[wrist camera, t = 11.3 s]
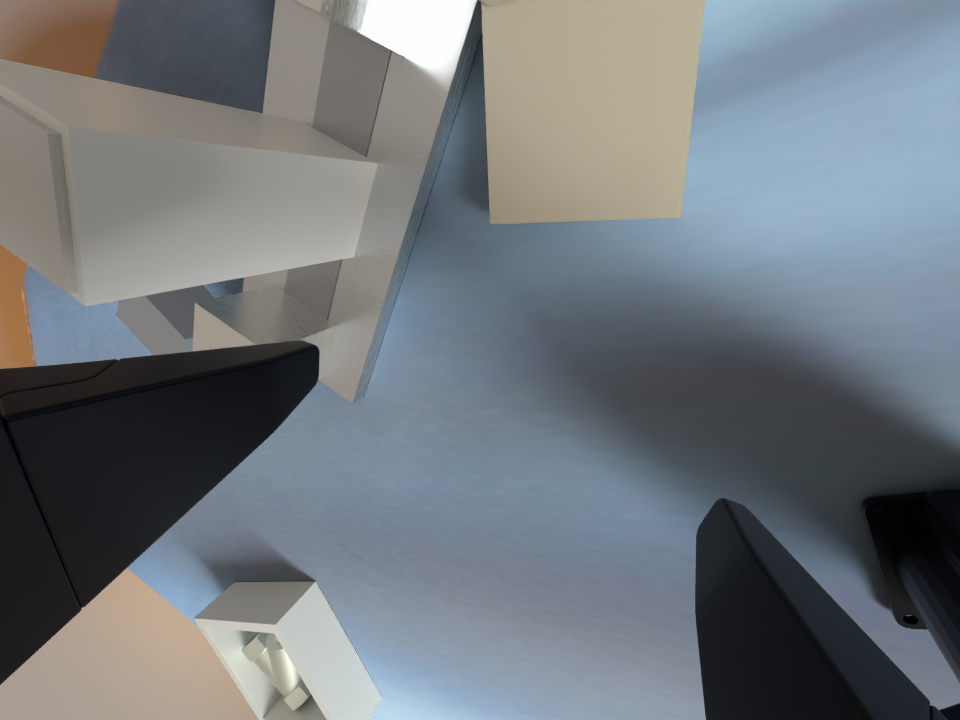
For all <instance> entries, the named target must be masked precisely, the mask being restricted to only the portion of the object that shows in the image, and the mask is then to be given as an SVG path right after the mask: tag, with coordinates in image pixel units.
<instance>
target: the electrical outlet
mask: <svg viewBox="0 0 960 720" xmlns="http://www.w3.org/2000/svg"><path fill="white" fill-rule="evenodd" d="M479 1H480V2H481V9H482V35H483V60H484V86H485V111H486V136H487V162H488V187H489V213H490V224H518V223H546V222H574V221H602V220H630V219H658V218H681V209H682V200H683V191H684V182H685V173H686V164H687V156H688V147H689V138H690V129H691V120H692V111H693V102H694V93H695V84H696V76H697V67H698V58H699V49H700V40H701V31H702V22H703V13H704V4H705V0H479Z"/></svg>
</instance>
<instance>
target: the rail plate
mask: <svg viewBox="0 0 960 720" xmlns="http://www.w3.org/2000/svg"><path fill="white" fill-rule="evenodd" d="M481 35H482V9H481V2H480V1H479V0H275V8H274V17H273V25H272V34H271V43H270V52H269V61H268V70H267V79H266V87H265V96H264V105H263V114H268V115H273V116H277V117H282V118H287V119H292V120H297V121H301V122H302V123H304V124H306V125H308V126H310V127H312V128H314V129H315V130H317V131H319V132H321V133H323V134H325V135H326V136H328V137H330V138H332V139H334V140H336V141H338V142H339V143H341V144H343V145H345V146H347V147H349V148H350V149H352V150H354V151H356V152H358V153H360V154H361V155H363V156H365V157H367V158H369V159H371V160H373V161H374V162H376V163H378V165H377V168H376V172H375V176H374V180H373V184H372V188H371V192H370V196H369V200H368V204H367V208H366V212H365V216H364V220H363V224H362V228H361V232H360V236H359V240H358V243H357V247H356V251H355V255H354V257H352V258H346V259H341V260H335V261H330V262H325V263H319V264H314V265H308V266H303V267H298V268H292V269H287V270H281V271H276V272H270V273H265V274H260V275H254V276H249V277H244V282H243V291H242V292H241V293H236V294H232V295H227V296H222V297H218V298H213V299H209V300H204V301H200V302H195V310H194V330H193V351H200V350H210V349H220V348H229V347H239V346H249V345H258V344H268V343H278V342H287V341H297V340H303V341H306V342H309V343H311V344H314V345H316V346H317V347H318V348H319V351H320V358H319V378H318V380H319V381H320V382H322V383H323V384H325V385H326V386H328V387H329V388H331V389H332V390H333V391H335V392H336V393H338V394H339V395H341V396H342V397H344V398H345V399H346V400H348V401H349V402H351V403H354V402H355V401H357V400H358V399H360V398H362V397H363V396H364V395H365V392H366V389H367V386H368V383H369V380H370V377H371V373H372V370H373V367H374V364H375V361H376V358H377V355H378V352H379V349H380V346H381V343H382V340H383V336H384V333H385V330H386V327H387V324H388V321H389V318H390V315H391V312H392V309H393V306H394V303H395V300H396V296H397V293H398V290H399V287H400V284H401V281H402V278H403V275H404V272H405V269H406V266H407V263H408V259H409V256H410V253H411V250H412V247H413V244H414V241H415V238H416V235H417V232H418V229H419V226H420V223H421V219H422V216H423V213H424V210H425V207H426V204H427V201H428V198H429V195H430V192H431V189H432V186H433V182H434V179H435V176H436V173H437V170H438V167H439V164H440V161H441V158H442V155H443V152H444V149H445V146H446V142H447V139H448V136H449V133H450V130H451V127H452V124H453V121H454V118H455V115H456V112H457V109H458V105H459V102H460V99H461V96H462V93H463V90H464V87H465V84H466V81H467V78H468V75H469V72H470V69H471V65H472V62H473V59H474V56H475V53H476V50H477V47H478V44H479V41H480V38H481Z"/></svg>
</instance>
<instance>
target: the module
mask: <svg viewBox="0 0 960 720" xmlns="http://www.w3.org/2000/svg"><path fill="white" fill-rule="evenodd" d="M377 165H378V163H376V162H374V161H373V160H371V159H369V158H367V157H365V156H363V155H361V154H360V153H358V152H356V151H354V150H352V149H350V148H349V147H347V146H345V145H343V144H341V143H339V142H338V141H336V140H334V139H332V138H330V137H328V136H326V135H325V134H323V133H321V132H319V131H317V130H315V129H314V128H312V127H310V126H308V125H306V124H304V123H302V122H301V121H297V120H292V119H287V118H282V117H277V116H273V115H268V114H263V113H258V112H253V111H249V110H244V109H239V108H234V107H229V106H225V105H220V104H215V103H210V102H205V101H200V100H196V99H191V98H186V97H181V96H176V95H172V94H167V93H162V92H157V91H152V90H148V89H143V88H138V87H133V86H128V85H123V84H119V83H114V82H109V81H104V80H99V79H95V78H89V77H85V76H80V75H75V74H70V73H65V72H61V71H56V70H51V69H46V68H41V67H37V66H32V65H27V64H22V63H18V62H13V61H8V60H3V59H0V244H1V245H2V246H4V247H5V248H6V249H8V250H9V251H10V252H12V253H13V254H14V255H16V256H17V257H18V258H20V259H21V260H22V261H24V262H25V263H26V264H28V265H29V266H30V267H32V268H33V269H34V270H36V271H37V272H38V273H40V274H41V275H42V276H44V277H45V278H46V279H48V280H49V281H50V282H52V283H53V284H54V285H56V286H57V287H58V288H60V289H61V290H62V291H64V292H65V293H66V294H70V295H71V296H72V297H74V298H75V299H76V300H78V301H79V302H80V303H82V304H83V305H84V306H91V305H97V304H102V303H108V302H113V301H119V300H124V299H129V298H135V297H140V296H146V295H151V294H156V293H162V292H167V291H173V290H178V289H184V288H189V287H194V286H200V285H205V284H211V283H216V282H222V281H227V280H232V279H238V278H243V277H249V276H254V275H260V274H265V273H270V272H276V271H281V270H287V269H292V268H298V267H303V266H308V265H314V264H319V263H325V262H330V261H335V260H341V259H346V258H352V257H354V255H355V251H356V247H357V243H358V240H359V236H360V232H361V228H362V224H363V220H364V216H365V212H366V208H367V204H368V200H369V196H370V192H371V188H372V184H373V180H374V176H375V172H376V168H377Z"/></svg>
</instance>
